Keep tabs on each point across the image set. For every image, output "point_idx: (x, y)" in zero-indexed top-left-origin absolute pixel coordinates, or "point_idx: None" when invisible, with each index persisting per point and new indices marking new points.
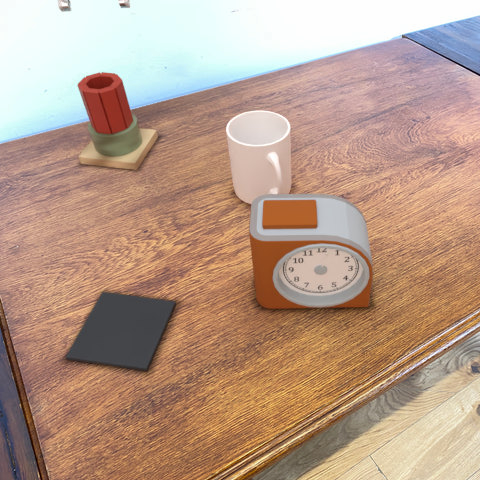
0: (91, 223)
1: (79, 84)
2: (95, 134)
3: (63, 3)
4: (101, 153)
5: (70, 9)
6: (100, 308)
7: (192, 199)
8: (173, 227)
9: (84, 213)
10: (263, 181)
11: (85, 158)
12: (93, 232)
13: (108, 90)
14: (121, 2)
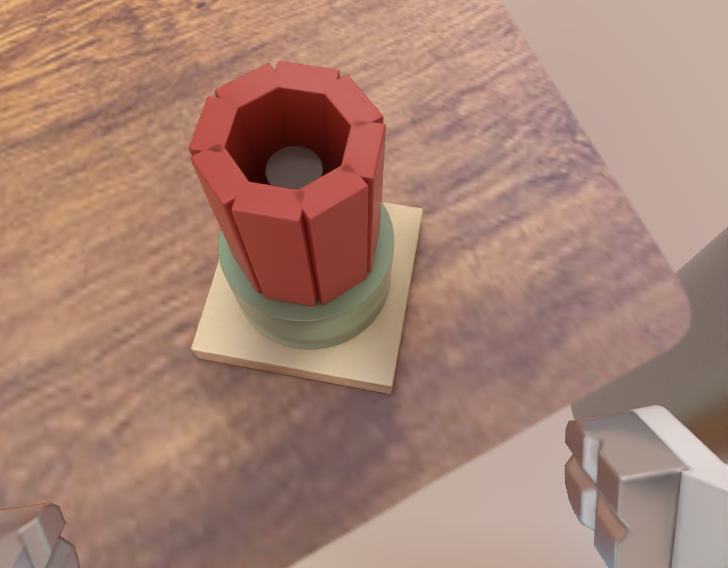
0: (326, 26)
1: (376, 123)
2: None
3: (623, 425)
4: None
5: (570, 483)
6: None
7: (93, 88)
8: (140, 13)
9: (351, 53)
10: None
11: (400, 206)
12: (315, 5)
13: (238, 80)
14: (18, 510)
